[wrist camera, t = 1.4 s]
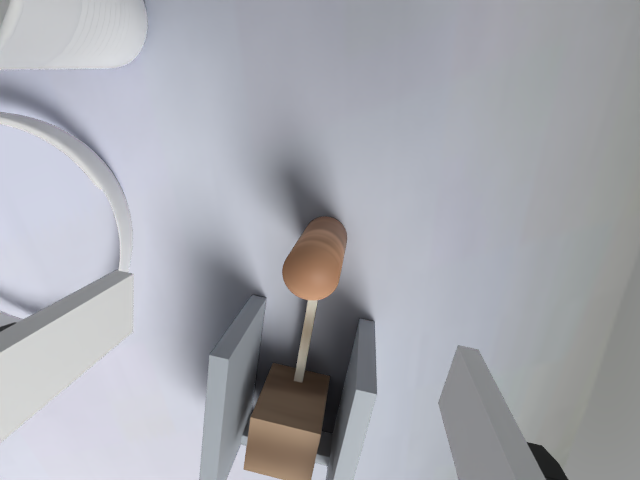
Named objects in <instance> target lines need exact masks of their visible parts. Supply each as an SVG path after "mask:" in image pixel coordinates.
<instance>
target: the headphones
mask: <svg viewBox="0 0 640 480" xmlns="http://www.w3.org/2000/svg"><path fill="white" fill-rule="evenodd" d="M0 124H1V125H6V126H10V127H13V128H16V129H20V130H23V131H25V132H28V133H30V134H33V135H35V136H37V137H39V138H41V139H43V140H44V141H46V142H48V143H49V144H51V145H53V146H54V147H56V148H57V149H59V150H60V151H61V152H63V153H64V154H65V155H67V156H68V157H69V158H70V159H71V160H72V161H74V162H75V163H76V164H77V165H78V166H79V167H80V168H81V169H82V171H83V172H84V173H85V174H86V175H87V176H88V177H89V179H90V180H91V181H92V183H93V184H94V185H95V186H96V187H97V188H99V189H100V190H103V192H104V193H105V195H106V197H107V198H108V201H109V203H110V205H111V208H112V210H113V213H114V216H115V220H116V223H117V228H118V234H119V242H120V260H119V269H118V271H123V272H127V273H128V272H129V268H130V263H131V257H132V249H133V229H132V221H131V215H130V211H129V207H128V204H127V201H126V198H125V195H124V193H123V191H122V189H121V187H120V185H119V183H118V181H117V179H116V178H115V176H114V175H113V173H112V172H111V170H110V169H109V168H108V166H107V165H106V164H105V163H104V162H103V160H102V159H101V158H100V157H99V156H98V155H97V154H96V153H95V152H94V151H93V150H92V149H91V148H89V147H88V146H87V145H86V144H85V143H83V142H82V141H80V140H79V139H78V138H76V137H75V136H73V135H71V134H70V133H68V132H66V131H64V130H62V129H61V128H59V127H57V126H54V125H52V124H49V123H47V122H44V121H41V120H38V119H35V118H31V117H27V116H23V115H18V114H12V113H5V112H0ZM21 320H23V319H21V318H18V317H15V316H12V315H9V314H7V313H5V312H2V311H0V327H1V326H4V325H7V324H11V323H14V322H16V323H18V322H20V321H21Z"/></svg>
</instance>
